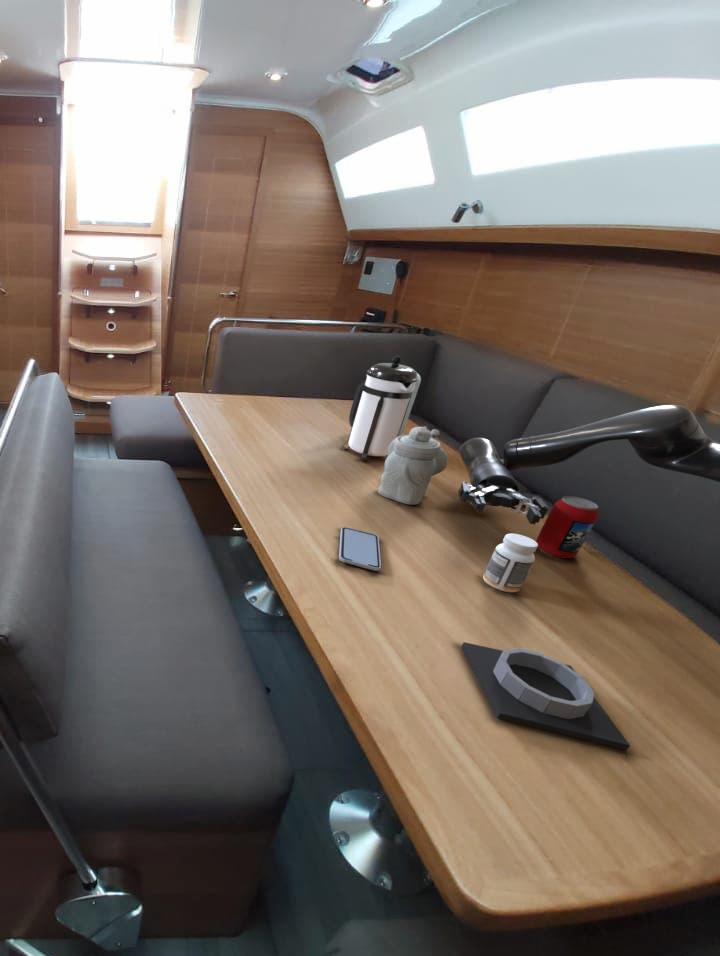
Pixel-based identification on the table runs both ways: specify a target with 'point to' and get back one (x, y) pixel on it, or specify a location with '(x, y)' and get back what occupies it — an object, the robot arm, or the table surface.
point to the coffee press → (380, 407)
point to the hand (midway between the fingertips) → (507, 514)
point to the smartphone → (359, 548)
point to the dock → (533, 717)
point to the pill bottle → (511, 563)
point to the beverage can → (567, 527)
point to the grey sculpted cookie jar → (412, 465)
